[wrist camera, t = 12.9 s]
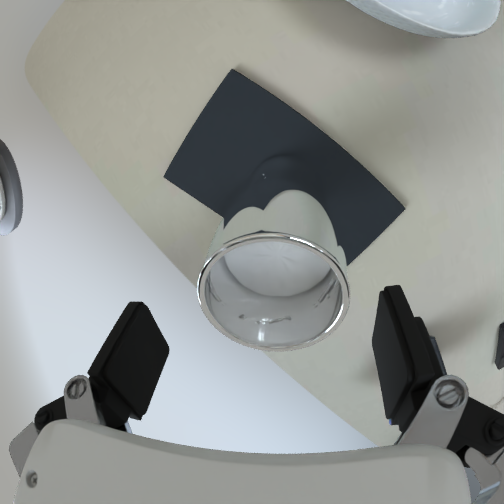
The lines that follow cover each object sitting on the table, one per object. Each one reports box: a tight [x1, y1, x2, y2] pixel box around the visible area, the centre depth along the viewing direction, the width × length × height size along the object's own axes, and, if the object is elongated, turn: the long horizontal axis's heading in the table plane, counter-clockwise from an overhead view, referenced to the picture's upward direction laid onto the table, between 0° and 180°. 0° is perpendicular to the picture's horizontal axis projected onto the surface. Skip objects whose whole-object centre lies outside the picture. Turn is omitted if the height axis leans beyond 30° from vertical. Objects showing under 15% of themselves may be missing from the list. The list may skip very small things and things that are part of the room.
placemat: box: [164, 69, 405, 266], centre depth 24 cm, size 20×12×1 cm, turn 55°
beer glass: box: [197, 155, 350, 351], centre depth 18 cm, size 7×7×15 cm
